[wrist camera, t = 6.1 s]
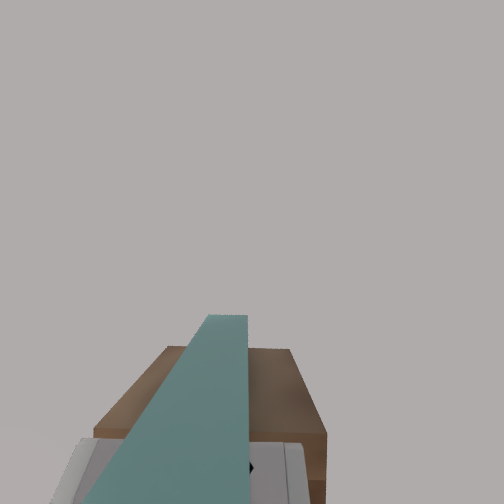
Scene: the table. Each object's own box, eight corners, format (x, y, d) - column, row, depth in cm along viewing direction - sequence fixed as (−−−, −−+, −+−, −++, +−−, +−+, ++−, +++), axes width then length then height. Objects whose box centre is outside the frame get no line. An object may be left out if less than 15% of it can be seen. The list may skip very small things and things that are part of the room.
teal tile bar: (246, 354, 27) (247, 315, 27) (245, 684, 6) (250, 510, 6) (207, 353, 27) (208, 314, 27) (72, 683, 6) (78, 507, 6)
